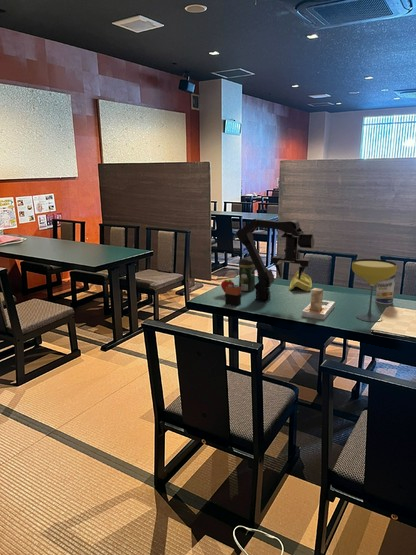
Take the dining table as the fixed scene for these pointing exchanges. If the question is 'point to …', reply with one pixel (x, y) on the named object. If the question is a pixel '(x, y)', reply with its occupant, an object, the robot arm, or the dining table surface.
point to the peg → (316, 299)
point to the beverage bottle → (385, 290)
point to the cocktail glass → (373, 278)
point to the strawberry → (226, 284)
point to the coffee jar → (246, 274)
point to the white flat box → (326, 309)
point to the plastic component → (301, 282)
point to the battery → (233, 295)
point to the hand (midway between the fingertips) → (290, 278)
